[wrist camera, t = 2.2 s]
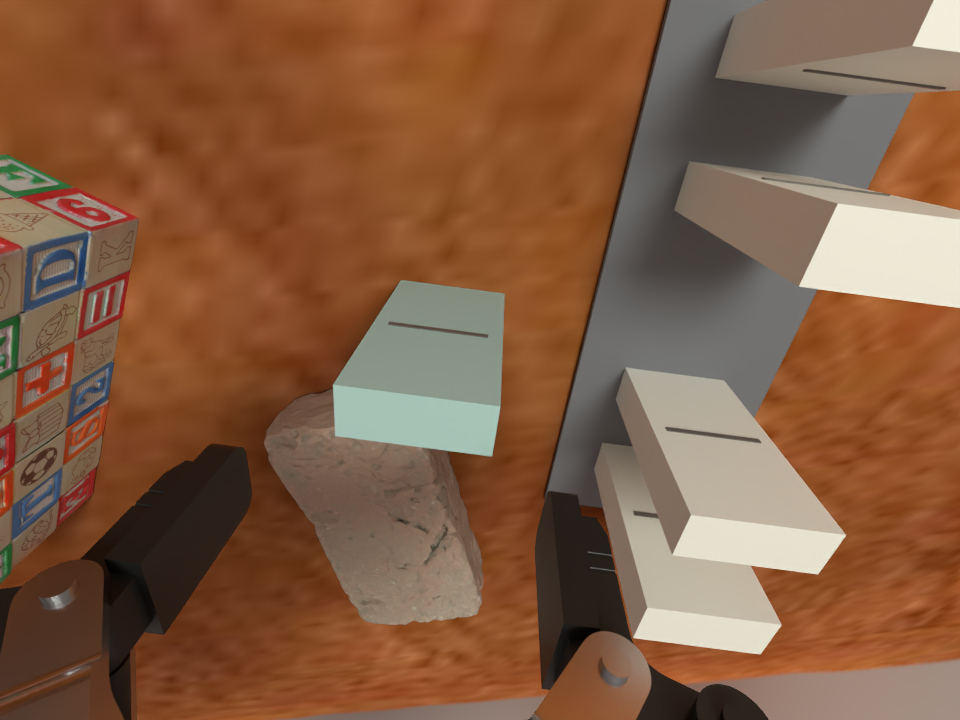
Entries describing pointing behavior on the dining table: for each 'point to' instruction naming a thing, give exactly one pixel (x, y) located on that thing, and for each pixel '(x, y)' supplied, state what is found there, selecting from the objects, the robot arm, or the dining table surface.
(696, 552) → the tile
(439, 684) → the dining table surface
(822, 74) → the tile
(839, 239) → the tile
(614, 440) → the runner
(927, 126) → the dining table surface
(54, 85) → the dining table surface
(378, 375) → the teal tile
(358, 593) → the brick
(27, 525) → the stack of blocks
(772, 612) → the tile
